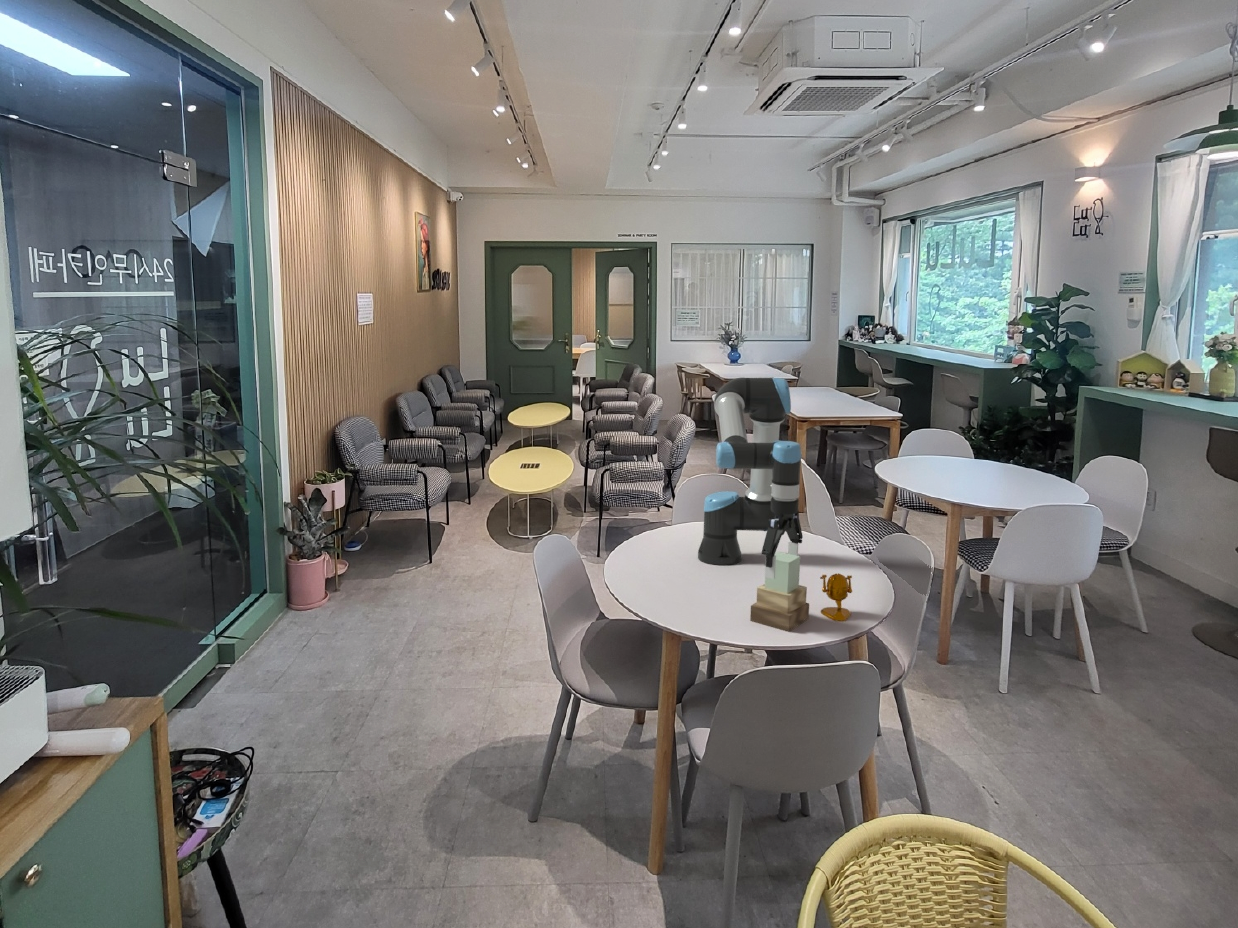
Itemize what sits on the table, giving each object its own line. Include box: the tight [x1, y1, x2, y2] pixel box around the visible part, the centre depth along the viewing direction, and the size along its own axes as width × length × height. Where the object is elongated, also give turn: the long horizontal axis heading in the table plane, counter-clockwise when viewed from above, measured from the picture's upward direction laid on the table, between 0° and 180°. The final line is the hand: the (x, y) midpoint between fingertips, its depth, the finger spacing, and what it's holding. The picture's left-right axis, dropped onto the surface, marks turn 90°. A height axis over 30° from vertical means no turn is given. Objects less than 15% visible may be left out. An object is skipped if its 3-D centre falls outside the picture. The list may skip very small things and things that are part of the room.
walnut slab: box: [749, 601, 810, 633], centre depth 231 cm, size 12×12×5 cm
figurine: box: [819, 573, 853, 622], centre depth 234 cm, size 8×11×12 cm
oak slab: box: [756, 583, 808, 614], centre depth 230 cm, size 10×10×5 cm
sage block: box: [764, 551, 801, 594], centre depth 228 cm, size 7×7×9 cm
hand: (781, 571), depth 229 cm, fingers open, 13 cm apart
